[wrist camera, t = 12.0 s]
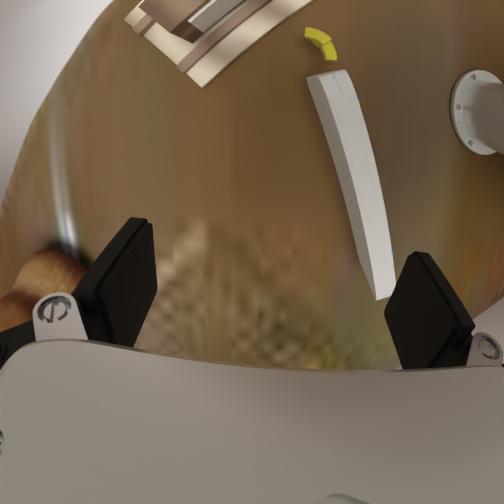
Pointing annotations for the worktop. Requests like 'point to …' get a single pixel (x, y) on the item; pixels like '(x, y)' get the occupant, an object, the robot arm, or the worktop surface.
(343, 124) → the white and blue box
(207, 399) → the robot arm
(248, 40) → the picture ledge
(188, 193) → the worktop surface
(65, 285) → the tan lobed piece
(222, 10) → the brown rectangular block
